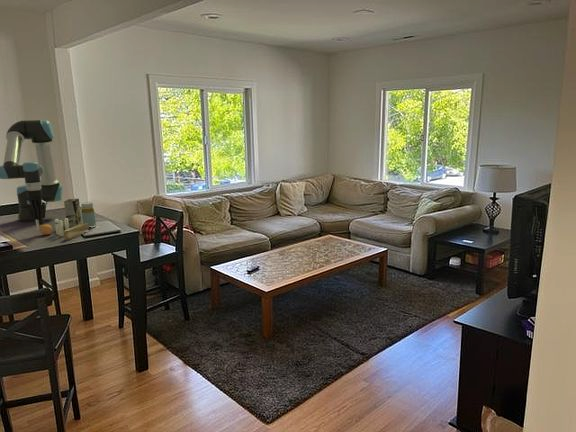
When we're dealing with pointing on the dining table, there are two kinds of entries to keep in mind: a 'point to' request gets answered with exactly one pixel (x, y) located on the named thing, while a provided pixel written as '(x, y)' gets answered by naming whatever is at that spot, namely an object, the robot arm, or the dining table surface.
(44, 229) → the ball
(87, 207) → the bottle
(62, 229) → the pin
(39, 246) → the dining table surface
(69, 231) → the back rail
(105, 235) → the dining table surface
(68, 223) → the pin
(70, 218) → the coffee box
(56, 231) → the pin front
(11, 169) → the robot arm
